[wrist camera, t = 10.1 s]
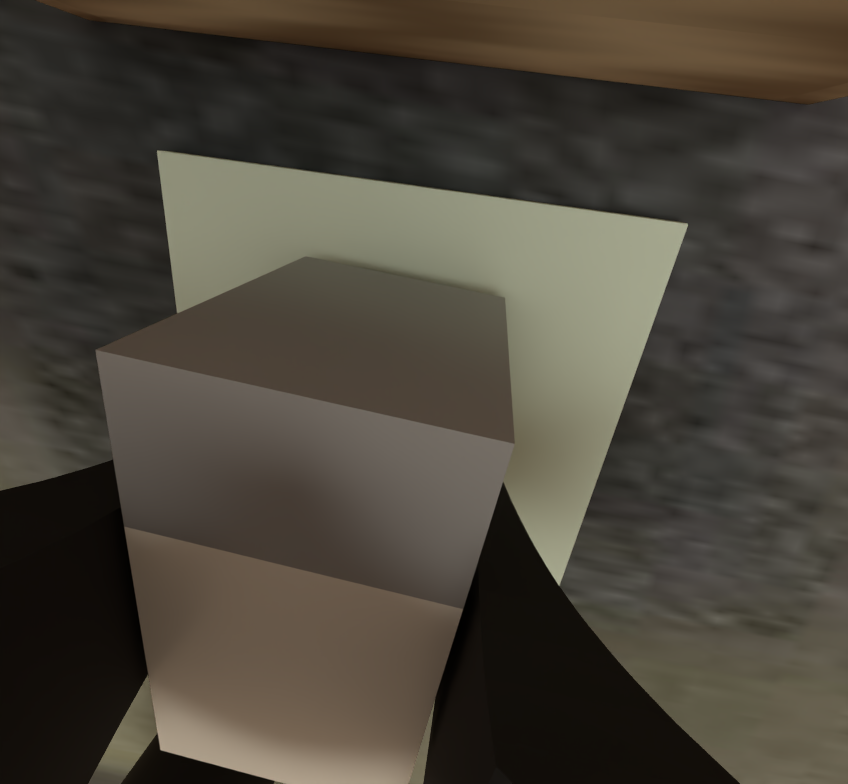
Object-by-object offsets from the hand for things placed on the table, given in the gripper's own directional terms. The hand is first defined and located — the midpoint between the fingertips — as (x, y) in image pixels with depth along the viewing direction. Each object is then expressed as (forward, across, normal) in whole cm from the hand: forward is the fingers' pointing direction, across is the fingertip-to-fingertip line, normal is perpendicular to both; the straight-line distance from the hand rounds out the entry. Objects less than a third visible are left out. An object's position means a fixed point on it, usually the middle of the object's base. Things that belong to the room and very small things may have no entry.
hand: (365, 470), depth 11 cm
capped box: (+2, 0, 0) cm, 2 cm away
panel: (+3, 0, 0) cm, 3 cm away
